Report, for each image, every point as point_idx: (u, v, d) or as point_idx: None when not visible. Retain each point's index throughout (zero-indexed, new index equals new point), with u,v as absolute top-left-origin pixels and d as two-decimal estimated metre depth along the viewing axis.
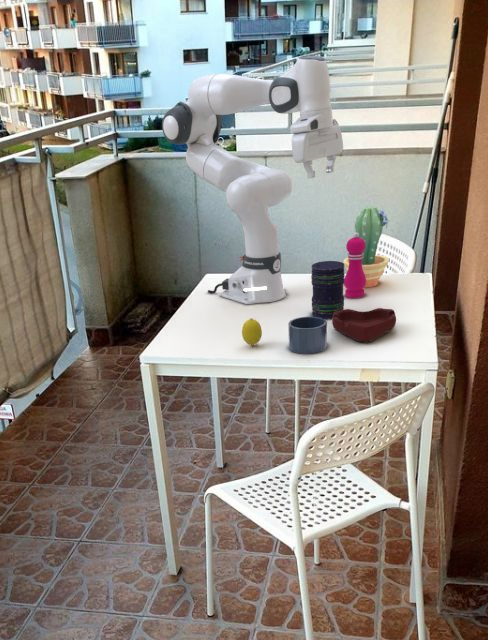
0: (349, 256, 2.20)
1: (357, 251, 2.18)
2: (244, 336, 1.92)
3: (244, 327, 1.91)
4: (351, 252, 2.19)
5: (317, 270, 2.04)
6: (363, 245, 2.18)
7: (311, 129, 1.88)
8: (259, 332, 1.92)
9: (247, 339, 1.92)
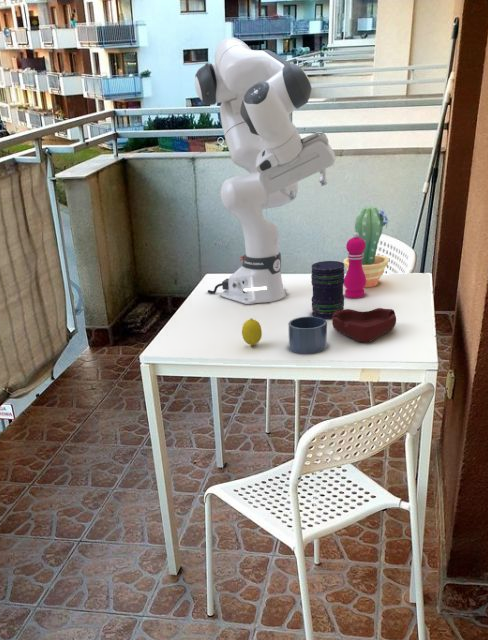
0: (349, 256, 2.20)
1: (357, 251, 2.18)
2: (244, 336, 1.92)
3: (244, 327, 1.91)
4: (351, 252, 2.19)
5: (317, 270, 2.04)
6: (363, 245, 2.18)
7: (262, 170, 1.81)
8: (259, 332, 1.92)
9: (247, 339, 1.92)
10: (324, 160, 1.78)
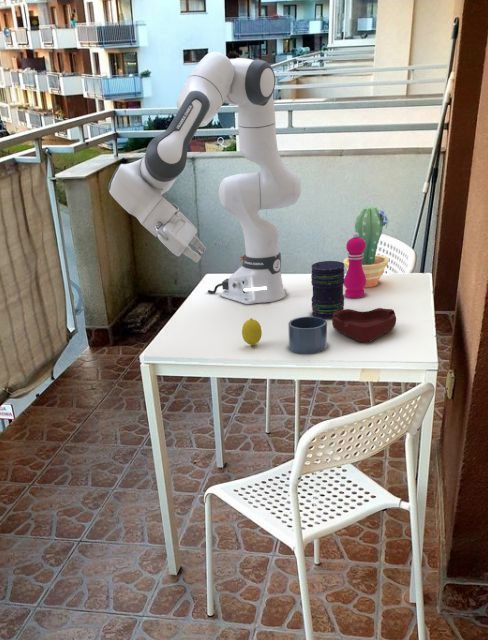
0: (349, 256, 2.20)
1: (357, 251, 2.18)
2: (244, 336, 1.92)
3: (244, 327, 1.91)
4: (351, 252, 2.19)
5: (317, 270, 2.04)
6: (363, 245, 2.18)
7: None
8: (259, 332, 1.92)
9: (247, 339, 1.92)
10: None
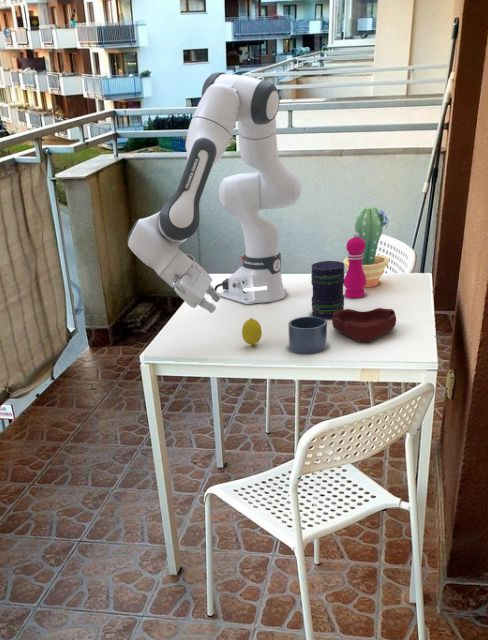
0: (349, 256, 2.20)
1: (357, 251, 2.18)
2: (244, 336, 1.92)
3: (244, 327, 1.91)
4: (351, 252, 2.19)
5: (317, 270, 2.04)
6: (363, 245, 2.18)
7: None
8: (259, 332, 1.92)
9: (247, 339, 1.92)
10: None
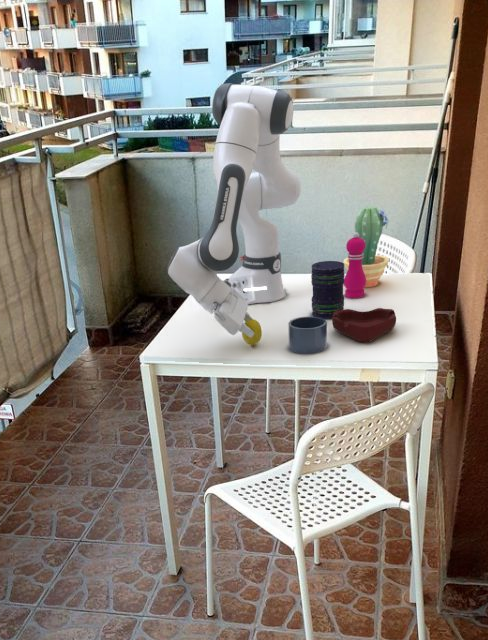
0: (349, 256, 2.20)
1: (357, 251, 2.18)
2: (244, 336, 1.92)
3: None
4: (351, 252, 2.19)
5: (317, 270, 2.04)
6: (363, 245, 2.18)
7: None
8: (259, 332, 1.92)
9: (247, 339, 1.92)
10: None
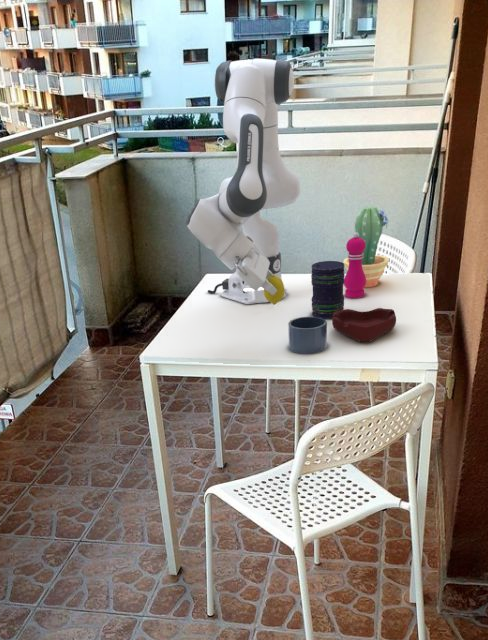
0: (349, 256, 2.20)
1: (357, 251, 2.18)
2: (266, 294, 1.84)
3: None
4: (351, 252, 2.19)
5: (317, 270, 2.04)
6: (363, 245, 2.18)
7: None
8: (282, 289, 1.84)
9: (269, 297, 1.84)
10: None
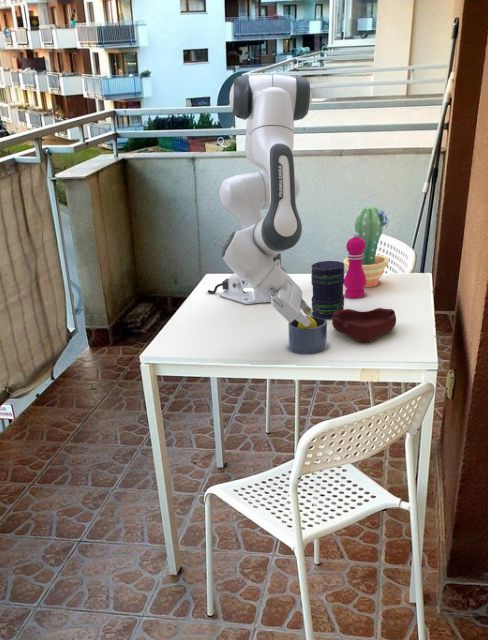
0: (349, 256, 2.20)
1: (357, 251, 2.18)
2: None
3: (300, 325, 1.87)
4: (351, 252, 2.19)
5: (317, 270, 2.04)
6: (363, 245, 2.18)
7: None
8: None
9: None
10: None
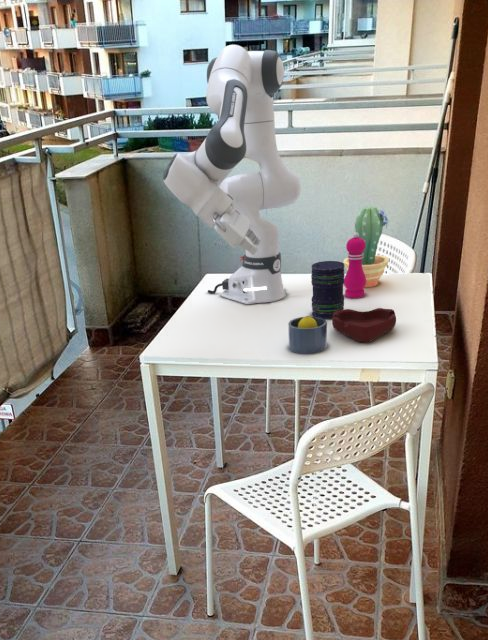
0: (349, 256, 2.20)
1: (357, 251, 2.18)
2: None
3: (300, 325, 1.87)
4: (351, 252, 2.19)
5: (317, 270, 2.04)
6: (363, 245, 2.18)
7: None
8: None
9: None
10: None
